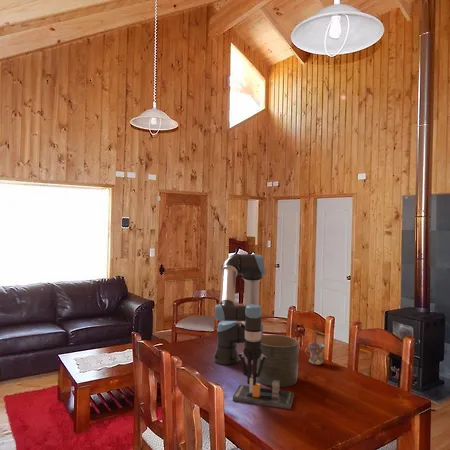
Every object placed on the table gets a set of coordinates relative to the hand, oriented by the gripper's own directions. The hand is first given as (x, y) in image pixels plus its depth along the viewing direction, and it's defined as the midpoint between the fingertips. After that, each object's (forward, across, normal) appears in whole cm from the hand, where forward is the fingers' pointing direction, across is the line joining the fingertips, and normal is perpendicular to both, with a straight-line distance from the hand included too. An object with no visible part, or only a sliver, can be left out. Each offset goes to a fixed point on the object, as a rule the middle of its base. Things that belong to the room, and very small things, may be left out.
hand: (251, 391), depth 180 cm
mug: (+4, +25, +61) cm, 66 cm away
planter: (+4, +7, +29) cm, 30 cm away
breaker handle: (+2, +2, 0) cm, 3 cm away
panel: (+4, +5, +4) cm, 7 cm away
